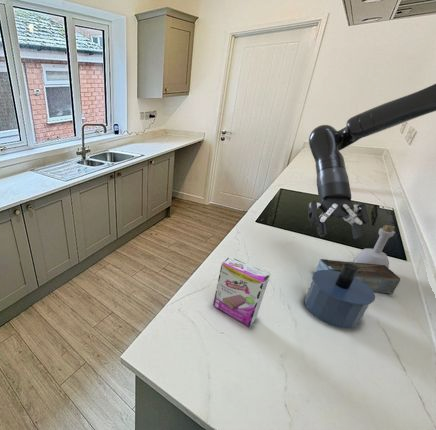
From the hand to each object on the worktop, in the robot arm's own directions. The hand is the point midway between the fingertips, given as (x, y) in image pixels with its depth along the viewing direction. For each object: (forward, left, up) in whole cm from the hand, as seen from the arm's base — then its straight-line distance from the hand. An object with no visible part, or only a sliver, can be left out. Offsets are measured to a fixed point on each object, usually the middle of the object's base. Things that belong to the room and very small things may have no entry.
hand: (340, 237), depth 75 cm
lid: (-5, +6, -11) cm, 14 cm away
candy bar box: (+13, +28, -20) cm, 37 cm away
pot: (-5, +6, -20) cm, 22 cm away
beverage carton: (-6, -13, -20) cm, 25 cm away
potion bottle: (-8, -26, -20) cm, 34 cm away
